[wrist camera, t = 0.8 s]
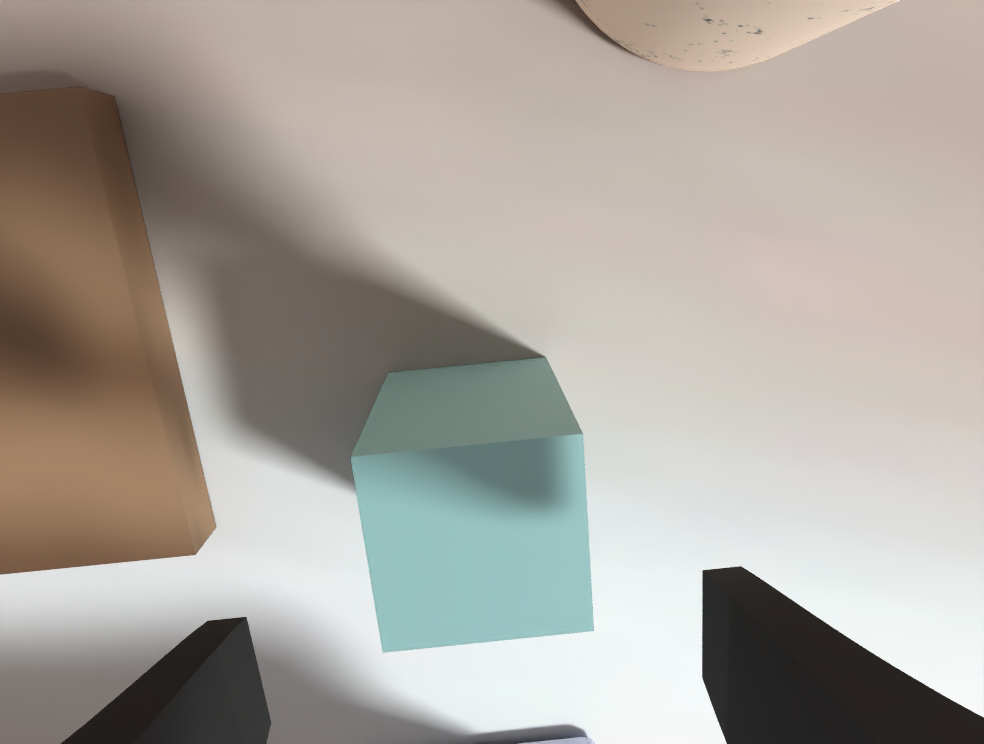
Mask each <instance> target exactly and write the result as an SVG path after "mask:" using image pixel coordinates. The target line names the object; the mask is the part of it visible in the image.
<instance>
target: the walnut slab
mask: <svg viewBox="0 0 984 744" xmlns="http://www.w3.org/2000/svg"><path fill="white" fill-rule="evenodd" d="M215 528H216V524H215V520H214V515H213V511H212V507H211V503H210V499H209V494H208V490H207V486H206V482H205V477H204V473H203V469H202V465H201V461H200V456H199V452H198V448H197V444H196V439H195V435H194V431H193V427H192V423H191V418H190V414H189V410H188V406H187V401H186V397H185V393H184V389H183V385H182V380H181V376H180V372H179V368H178V363H177V359H176V355H175V351H174V347H173V342H172V338H171V334H170V330H169V325H168V321H167V317H166V313H165V309H164V304H163V300H162V296H161V292H160V287H159V283H158V279H157V275H156V271H155V266H154V262H153V258H152V254H151V249H150V245H149V241H148V237H147V233H146V228H145V224H144V220H143V216H142V211H141V207H140V203H139V199H138V195H137V190H136V186H135V182H134V178H133V173H132V169H131V165H130V161H129V157H128V152H127V148H126V144H125V140H124V135H123V131H122V127H121V123H120V118H119V114H118V110H117V106H116V102H115V97H114V96H110V95H107V94H103V93H99V92H96V91H92V90H89V89H85V88H81V87H69V88H58V89H47V90H36V91H26V92H15V93H4V94H0V574H10V573H20V572H30V571H40V570H50V569H60V568H70V567H80V566H90V565H99V564H109V563H119V562H129V561H139V560H149V559H159V558H169V557H179V556H189V555H196V553H197V552H198V551H199V550H200V548H201V547H202V546H203V544H204V543H205V542H206V540H207V539H208V538H209V536H210V535H211V534H212V532H213V531H214V530H215Z"/></svg>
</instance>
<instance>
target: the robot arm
mask: <svg viewBox="0 0 984 744" xmlns="http://www.w3.org/2000/svg"><path fill="white" fill-rule="evenodd" d="M702 678H703V681H704V683H705V686H706V689H707V692H708V695H709V697H710V700H711V703H712V706H713V708H714V711H715V714H716V716H717V719H718V722H719V724H720V727H721V729H722V732H723V735H724V737H725V740H726V742H727V744H984V718H983V717H982V716H980V715H978V714H976V713H974V712H972V711H970V710H968V709H967V708H965V707H963V706H961V705H959V704H957V703H956V702H954V701H952V700H950V699H948V698H947V697H945V696H943V695H941V694H940V693H938V692H936V691H935V690H933V689H931V688H929V687H928V686H926V685H924V684H923V683H921V682H919V681H918V680H916V679H914V678H912V677H911V676H909V675H907V674H906V673H904V672H902V671H901V670H899V669H897V668H895V667H894V666H892V665H891V664H889V663H887V662H886V661H884V660H882V659H881V658H879V657H878V656H876V655H874V654H873V653H871V652H870V651H868V650H866V649H865V648H863V647H862V646H860V645H859V644H857V643H855V642H854V641H852V640H851V639H849V638H848V637H846V636H845V635H843V634H842V633H840V632H839V631H837V630H835V629H834V628H832V627H831V626H829V625H828V624H826V623H825V622H823V621H822V620H820V619H819V618H817V617H816V616H814V615H813V614H811V613H810V612H809V611H807V610H806V609H804V608H803V607H801V606H800V605H798V604H797V603H795V602H794V601H792V600H791V599H789V598H788V597H786V596H785V595H784V594H782V593H781V592H779V591H778V590H776V589H775V588H773V587H772V586H770V585H769V584H767V583H766V582H764V581H763V580H761V579H760V578H758V577H757V576H755V575H754V574H752V573H751V572H749V571H748V570H746V569H744V568H743V567H741V566H740V567H731V568H721V569H711V570H703V628H702ZM270 725H271V720H270V716H269V712H268V708H267V703H266V699H265V695H264V690H263V686H262V682H261V678H260V673H259V669H258V665H257V660H256V656H255V652H254V648H253V643H252V639H251V635H250V630H249V626H248V622H247V618H246V617H241V618H231V619H222V620H212V621H207V622H206V623H204V624H203V625H202V626H200V627H199V628H198V629H196V630H195V631H194V632H193V633H191V634H190V635H189V636H188V637H187V638H185V639H184V640H183V641H182V642H181V643H179V644H178V645H177V646H176V647H175V648H174V649H172V650H171V651H170V652H169V653H168V654H167V655H165V656H164V657H163V658H162V659H161V660H160V661H158V662H157V663H156V664H155V665H154V666H153V667H151V668H150V669H149V670H148V671H147V672H146V673H145V674H143V675H142V676H141V677H140V678H139V679H138V680H136V681H135V682H134V683H133V684H132V685H131V686H129V687H128V688H127V689H126V690H125V691H124V692H122V693H121V694H120V695H119V696H118V697H117V698H115V699H114V700H113V701H112V702H111V703H109V704H108V705H107V706H106V707H105V708H104V709H102V710H101V711H100V712H99V713H98V714H97V715H95V716H94V717H93V718H92V719H91V720H90V721H88V722H87V723H86V724H85V725H84V726H82V727H81V728H80V729H79V730H77V731H76V732H75V733H74V734H72V735H71V736H70V737H69V738H67V739H66V740H65V741H64V742H62V743H61V744H266V742H267V738H268V734H269V729H270ZM519 744H595V743H594V742H593V741H592V740H591V739H589V738H587V737H576V738H566V739H557V740H547V741H538V742H528V743H519Z"/></svg>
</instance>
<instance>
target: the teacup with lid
mask: <svg viewBox="0 0 984 744" xmlns="http://www.w3.org/2000/svg"><path fill="white" fill-rule="evenodd" d="M575 1H576V2H577V3H578V5H579V6H580V7H581V9H582V10H583V11H584V12H585V14H586V15H587V16H588V17H589V18H590V19H591V20H592V21H593V22H594V23H595V24H596V25H597V26H598V27H599V28H600V29H601V30H602V31H603V32H604V33H605V34H607V35H608V36H609V37H610V38H611V39H613V40H614V41H615V42H617V43H618V44H620V45H621V46H623V47H624V48H626V49H627V50H629V51H631V52H633V53H635V54H637V55H638V56H640V57H642V58H645V59H647V60H650V61H652V62H655V63H657V64H661V65H664V66H668V67H672V68H676V69H683V70H689V71H722V70H730V69H735V68H741V67H746V66H749V65H753V64H756V63H760V62H762V61H765V60H767V59H770V58H772V57H775V56H777V55H780V54H782V53H784V52H786V51H789V50H791V49H793V48H795V47H797V46H800V45H802V44H804V43H806V42H809V41H811V40H813V39H815V38H817V37H820V36H822V35H824V34H826V33H829V32H831V31H833V30H835V29H838V28H840V27H842V26H844V25H846V24H849V23H851V22H853V21H855V20H858V19H860V18H862V17H864V16H866V15H869V14H871V13H873V12H875V11H878V10H880V9H882V8H884V7H886V6H889V5H891V4H893V3H895V2H898V1H900V0H575Z"/></svg>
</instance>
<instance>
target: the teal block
mask: <svg viewBox="0 0 984 744" xmlns="http://www.w3.org/2000/svg"><path fill="white" fill-rule="evenodd" d="M350 458H351V464H352V470H353V476H354V482H355V488H356V494H357V500H358V506H359V512H360V518H361V524H362V530H363V536H364V542H365V548H366V554H367V560H368V566H369V572H370V578H371V584H372V590H373V596H374V603H375V609H376V615H377V621H378V627H379V633H380V639H381V645H382V651H383V652H393V651H403V650H413V649H422V648H432V647H442V646H452V645H461V644H471V643H481V642H491V641H500V640H510V639H520V638H529V637H539V636H549V635H559V634H568V633H578V632H588V631H594V625H593V607H592V589H591V571H590V552H589V534H588V516H587V498H586V480H585V462H584V444H583V433H582V431H581V429H580V427H579V425H578V423H577V420H576V418H575V416H574V414H573V412H572V410H571V408H570V406H569V404H568V402H567V400H566V398H565V396H564V394H563V391H562V389H561V387H560V385H559V383H558V381H557V379H556V377H555V375H554V373H553V371H552V369H551V367H550V365H549V362H548V360H547V358H546V357H542V358H532V359H522V360H512V361H502V362H491V363H481V364H471V365H461V366H451V367H441V368H430V369H420V370H410V371H400V372H390V373H388V374H387V376H386V379H385V381H384V383H383V385H382V388H381V390H380V392H379V394H378V397H377V399H376V401H375V403H374V405H373V408H372V410H371V412H370V414H369V417H368V419H367V421H366V423H365V426H364V428H363V430H362V432H361V434H360V437H359V439H358V441H357V443H356V446H355V448H354V450H353V452H352V455H351V457H350Z"/></svg>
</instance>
